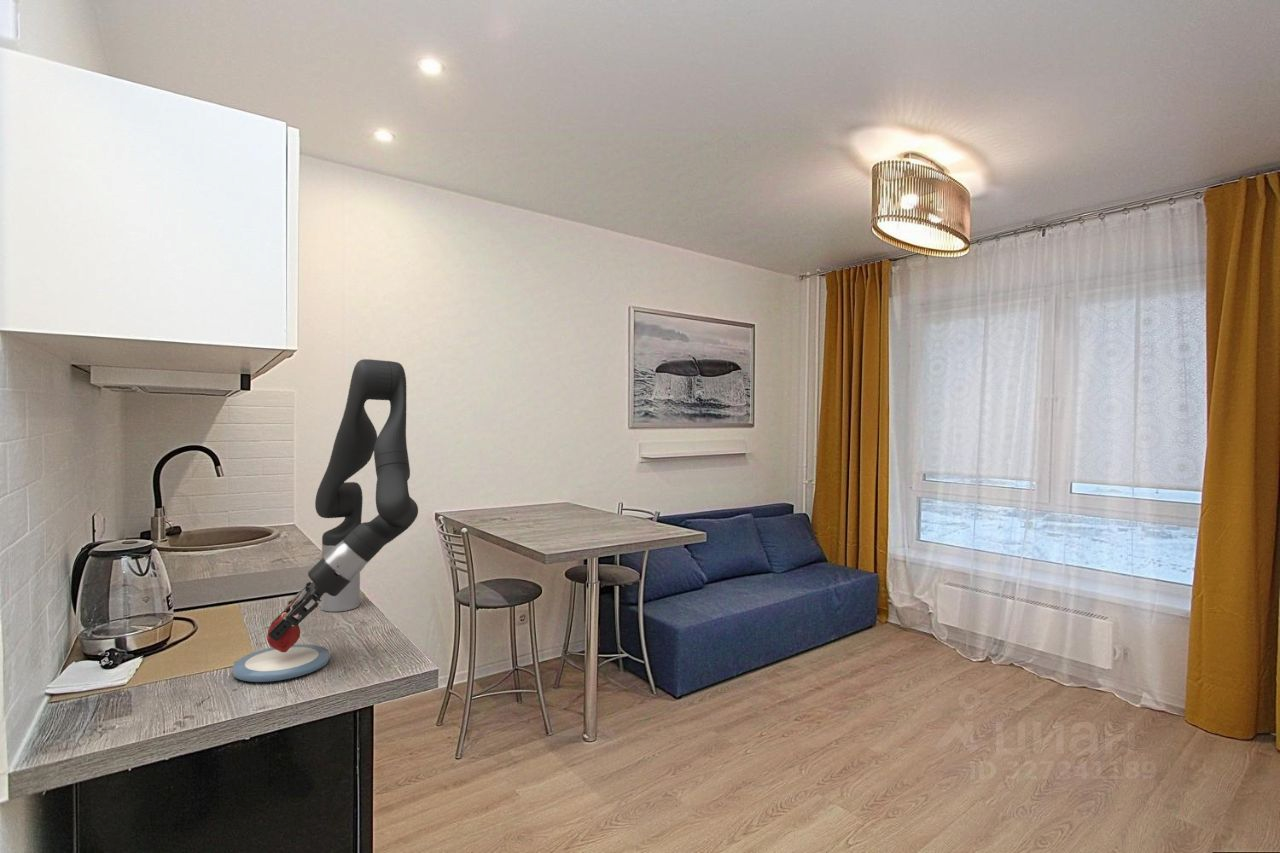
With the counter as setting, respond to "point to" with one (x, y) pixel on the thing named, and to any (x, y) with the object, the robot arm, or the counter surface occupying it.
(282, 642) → the onion
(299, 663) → the dish
